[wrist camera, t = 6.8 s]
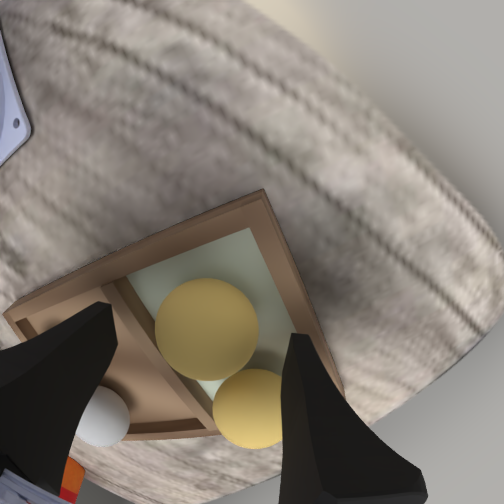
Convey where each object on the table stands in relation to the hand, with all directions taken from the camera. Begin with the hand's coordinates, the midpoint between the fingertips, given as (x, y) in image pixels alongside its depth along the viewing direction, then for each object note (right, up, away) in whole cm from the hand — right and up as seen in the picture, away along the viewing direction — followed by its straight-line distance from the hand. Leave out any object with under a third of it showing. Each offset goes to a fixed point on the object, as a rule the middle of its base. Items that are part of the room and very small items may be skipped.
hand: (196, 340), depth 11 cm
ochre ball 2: (+2, -3, +4) cm, 6 cm away
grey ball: (-7, -7, +7) cm, 11 cm away
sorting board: (-3, -2, +5) cm, 6 cm away
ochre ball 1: (0, +1, +3) cm, 3 cm away
